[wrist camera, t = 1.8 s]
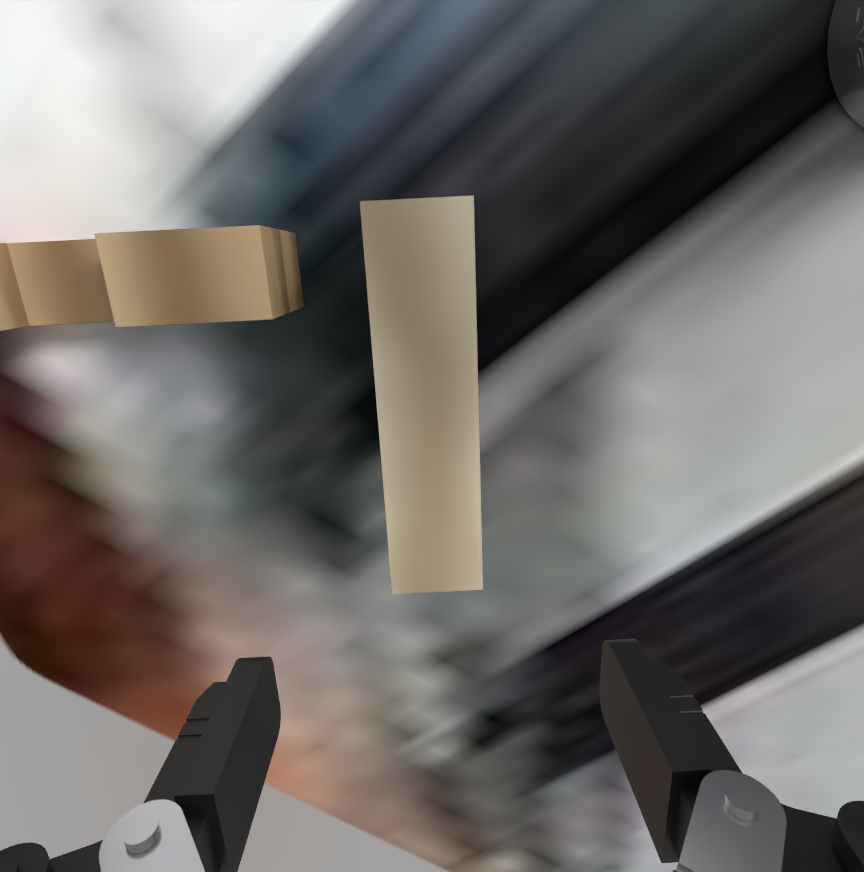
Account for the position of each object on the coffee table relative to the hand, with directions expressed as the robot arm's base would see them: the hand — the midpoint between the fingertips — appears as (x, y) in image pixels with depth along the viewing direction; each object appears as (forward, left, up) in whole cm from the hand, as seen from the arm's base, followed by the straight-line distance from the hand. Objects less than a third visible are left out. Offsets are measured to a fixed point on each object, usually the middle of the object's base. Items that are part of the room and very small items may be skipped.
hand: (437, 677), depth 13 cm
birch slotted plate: (0, -4, -17) cm, 18 cm away
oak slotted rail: (+15, -9, -17) cm, 25 cm away
